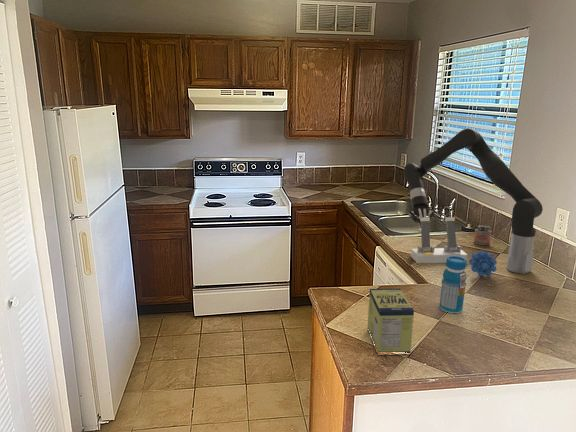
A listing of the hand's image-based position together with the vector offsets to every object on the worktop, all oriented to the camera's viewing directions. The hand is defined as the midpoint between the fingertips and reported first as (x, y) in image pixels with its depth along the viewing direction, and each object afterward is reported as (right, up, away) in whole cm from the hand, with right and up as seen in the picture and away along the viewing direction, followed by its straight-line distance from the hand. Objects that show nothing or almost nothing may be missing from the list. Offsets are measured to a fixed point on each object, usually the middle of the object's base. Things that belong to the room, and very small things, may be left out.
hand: (424, 229), depth 208 cm
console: (+7, -14, 0) cm, 16 cm away
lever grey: (+13, -9, -1) cm, 16 cm away
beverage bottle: (-5, -28, -48) cm, 56 cm away
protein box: (-34, -34, -69) cm, 84 cm away
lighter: (+37, -8, +21) cm, 44 cm away
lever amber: (0, -10, -2) cm, 10 cm away
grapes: (+19, -20, -20) cm, 34 cm away
